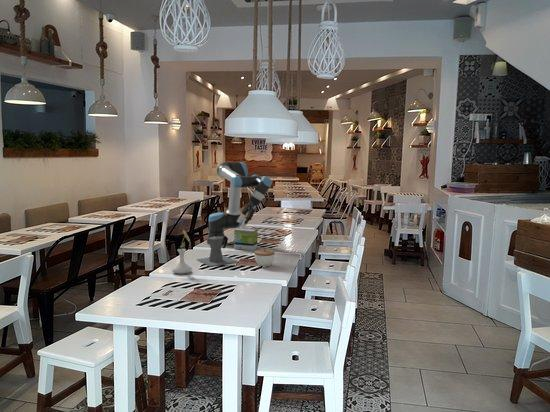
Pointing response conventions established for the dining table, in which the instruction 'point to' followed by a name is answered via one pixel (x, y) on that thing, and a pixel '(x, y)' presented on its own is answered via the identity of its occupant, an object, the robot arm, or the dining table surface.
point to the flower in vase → (182, 260)
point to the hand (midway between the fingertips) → (240, 225)
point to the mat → (225, 261)
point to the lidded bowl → (264, 257)
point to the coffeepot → (216, 247)
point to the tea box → (245, 239)
